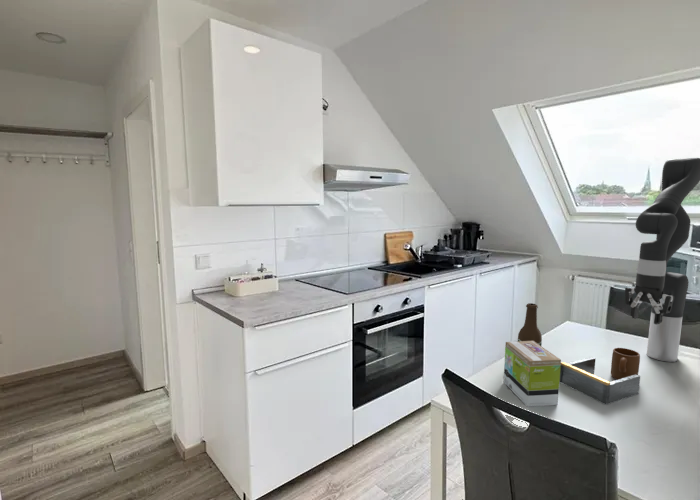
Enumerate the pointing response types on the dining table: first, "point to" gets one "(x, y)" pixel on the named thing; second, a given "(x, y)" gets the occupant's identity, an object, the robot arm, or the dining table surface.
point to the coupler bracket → (597, 382)
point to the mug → (624, 363)
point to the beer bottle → (530, 326)
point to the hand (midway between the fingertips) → (645, 320)
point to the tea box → (532, 373)
